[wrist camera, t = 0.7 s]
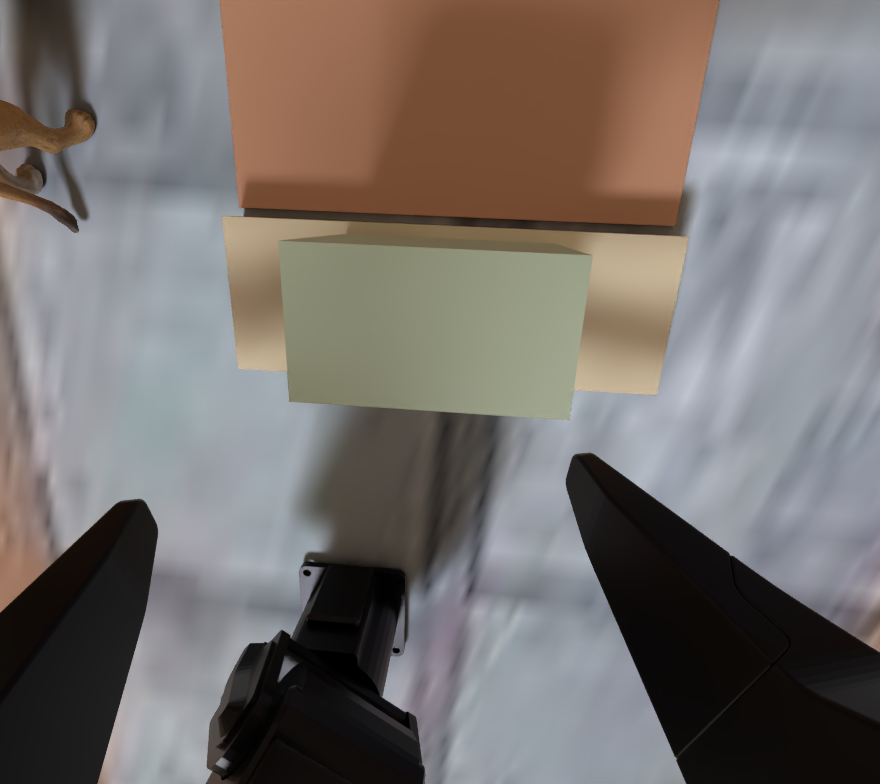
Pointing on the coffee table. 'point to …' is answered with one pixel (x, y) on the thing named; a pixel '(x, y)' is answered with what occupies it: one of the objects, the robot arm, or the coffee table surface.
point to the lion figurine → (16, 128)
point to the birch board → (614, 254)
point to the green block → (433, 323)
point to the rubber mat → (467, 106)
